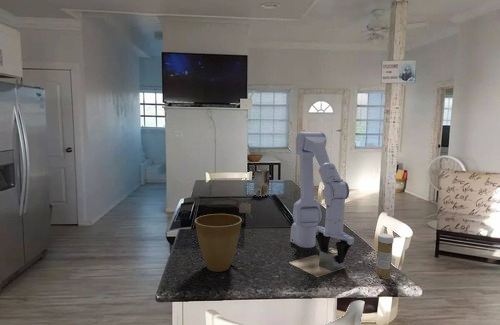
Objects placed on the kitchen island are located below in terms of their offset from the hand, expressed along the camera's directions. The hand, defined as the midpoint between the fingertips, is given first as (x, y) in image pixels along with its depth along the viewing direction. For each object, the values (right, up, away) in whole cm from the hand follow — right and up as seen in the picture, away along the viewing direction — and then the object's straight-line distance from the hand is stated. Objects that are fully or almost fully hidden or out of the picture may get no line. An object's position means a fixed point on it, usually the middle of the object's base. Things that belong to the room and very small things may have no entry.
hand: (332, 259), depth 114 cm
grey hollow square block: (0, -2, 0) cm, 2 cm away
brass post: (0, -3, 0) cm, 3 cm away
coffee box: (-20, +10, +112) cm, 114 cm away
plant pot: (-37, -3, 0) cm, 37 cm away
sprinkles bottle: (+15, -5, -4) cm, 16 cm away
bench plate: (-5, -3, +1) cm, 6 cm away
